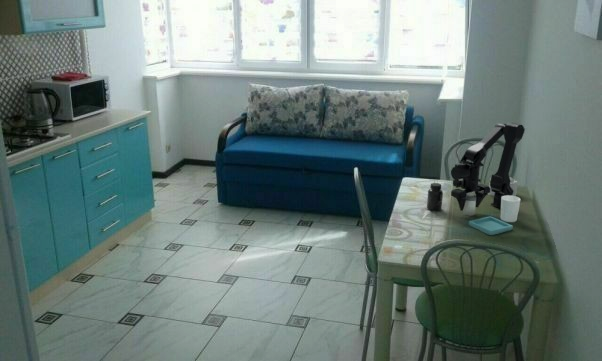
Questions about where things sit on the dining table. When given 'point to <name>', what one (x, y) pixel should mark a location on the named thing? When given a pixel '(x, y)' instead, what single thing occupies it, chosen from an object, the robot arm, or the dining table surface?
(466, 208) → the spice jar
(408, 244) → the dining table surface
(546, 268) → the dining table surface
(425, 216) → the butter knife
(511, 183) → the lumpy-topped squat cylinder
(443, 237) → the dining table surface
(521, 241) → the dining table surface
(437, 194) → the supplement bottle
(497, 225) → the tray
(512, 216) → the white cup
